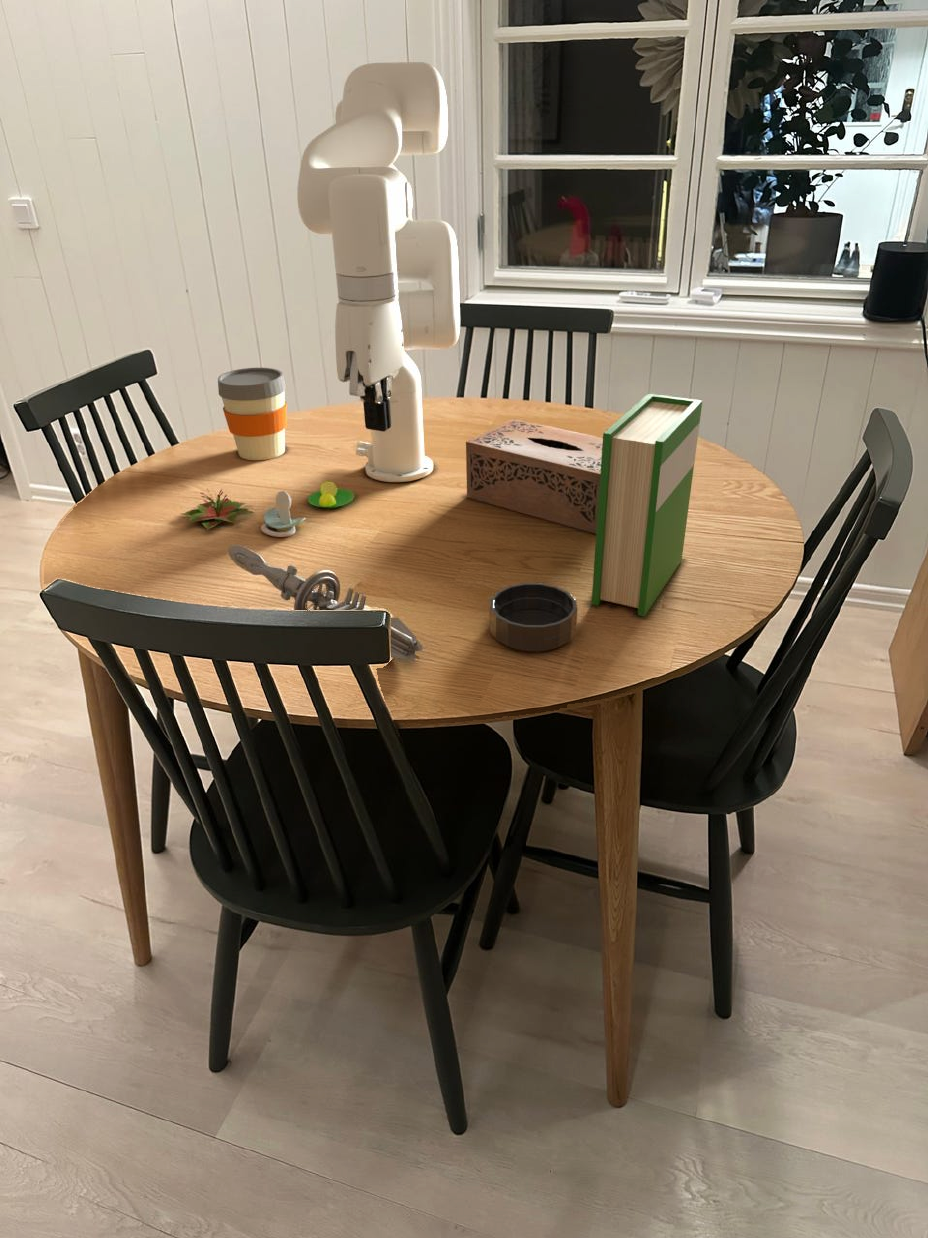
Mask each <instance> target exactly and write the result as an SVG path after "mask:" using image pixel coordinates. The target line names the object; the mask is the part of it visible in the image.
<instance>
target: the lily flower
mask: <svg viewBox="0 0 928 1238" xmlns="http://www.w3.org/2000/svg"><path fill="white" fill-rule="evenodd" d="M206 491H207V492H208V493H209V495H210V496H211V497H210V496H208V495H206V494H205V493H204V492H199V493H200V494H201V498H205V499H207V500H209V501H207V500H205V499H203V502H204V503H199V504H198V505H197V508H196V509H195V508H194V509H190V510H188V511H186V512H181V515H183V516H186V517H189V519H188V522H187V523H186V526H188V525H191V524H194V523H197V522H200V521H201V525H203V527H204V528H206V530H207V531H209V530H211V529H212V528H214V527H216V526H217V525H220V524H221V523H223V522H224V521H225V522H229V523H232V524H233V525H237V518H238V517H240V516H245V515H249V514H255V513H256V512H254V511H252V510H249V509H248V508H243V507H242V506H244V505H247V504H248V502H241V501H240V502H239V501H232V500H231V499H229V498H228V497H227V496H228V494H225V495H224V496H223V498H222V499H221V496H222V495H223V494H224V491H223V489H220V491H219V492H218V494H216V498H217V500H215V499H214V497H213V496H212V494H211V492H210V491H209V489H208V488H206Z"/></svg>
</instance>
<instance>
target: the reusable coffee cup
mask: <svg viewBox="0 0 928 1238" xmlns="http://www.w3.org/2000/svg"><path fill="white" fill-rule="evenodd" d="M217 389H218V390H217V391H218V396H219V397H220V398H221V400H222V404H223V407H222V410H223V414H224V417H225V421H226V424H227V427H228V430H229V432H230V433H231V434H232V436H233V440H234V443H235V446H236V449H237V452H238V456H239V457H240V458H241V459H244V460H249V461H265V460H271V459H274V458H278V457H280V456H281V455H283V454H284V453H285V451H286V431H285V430H286V428H287V427H288V414H287V413H288V411H287V410H288V409H287V408H288V404H287V401H286V400H285V391H286V389H287V386H286V382H285V378H284V374H283V371H281V370H280V369H276V368H273V367H245V368H238V369H234V370H229V371H226V372H223V373H222V374H220V375H219V376H218V377H217Z"/></svg>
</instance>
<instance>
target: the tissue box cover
mask: <svg viewBox="0 0 928 1238" xmlns="http://www.w3.org/2000/svg"><path fill="white" fill-rule="evenodd" d="M602 444H603V436H598V435H593V434H589V433H583V432H579V431H575V430H570V429H565V428H561V427H556V426H551V425H547V424H543V423H537V422H533V421H528V420H523V419H519V418H513V419H510V420H508V421H506V422H504V423H502V424H500V425H498V426H495V427H493V428H492V429H489V430H487V431H485V432H483V433H481V434H479V435H476V436H474V437H473V438H471V439H469V440H466V441H465V461H466V462H465V463H466V465H465V466H466V467H465V468H466V498H468V499H473V500H476V501H478V502H483V503H487V504H490V505H494V506H497V507H500V508H503V509H506V510H507V509H508V510H511V511H514V512H517V513H518V512H519V513H521V514H525V515H528V516H531V517H535V518H538V519H542V520H546V521H550V522H552V523H556V524H560V525H563V526H567V527H571V528H573V529H577V530H581V531H584V532H588V533H591V534H594V535H596V531H597V516H598V502H599V487H600V473H601V459H602Z"/></svg>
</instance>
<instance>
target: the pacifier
mask: <svg viewBox="0 0 928 1238" xmlns="http://www.w3.org/2000/svg"><path fill="white" fill-rule="evenodd" d="M275 495H276V496H275V499H274V500H275V506H276V508H270V509H267V510H266V511H265V512H264V514H263V520H264V522H265V523H263V524H262V525H261V526H260V530H261V531H262V532H263V534H265V535H268V536H271V537H276V538H284V537H285V538H286V537H290V536H293V535H294V534H295V533H296V531H297V530H296V526H297V525H299V524H301V523H303V522H304V521H306V517H298V518H292V517H291V512H290V509H291V506H292V498H291V495H290V494H289V493H288V492H286V491H284V490H280V491H278V492H277V494H275ZM269 528H272V529H275V530H276V531H274V530H271V529H269Z"/></svg>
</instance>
